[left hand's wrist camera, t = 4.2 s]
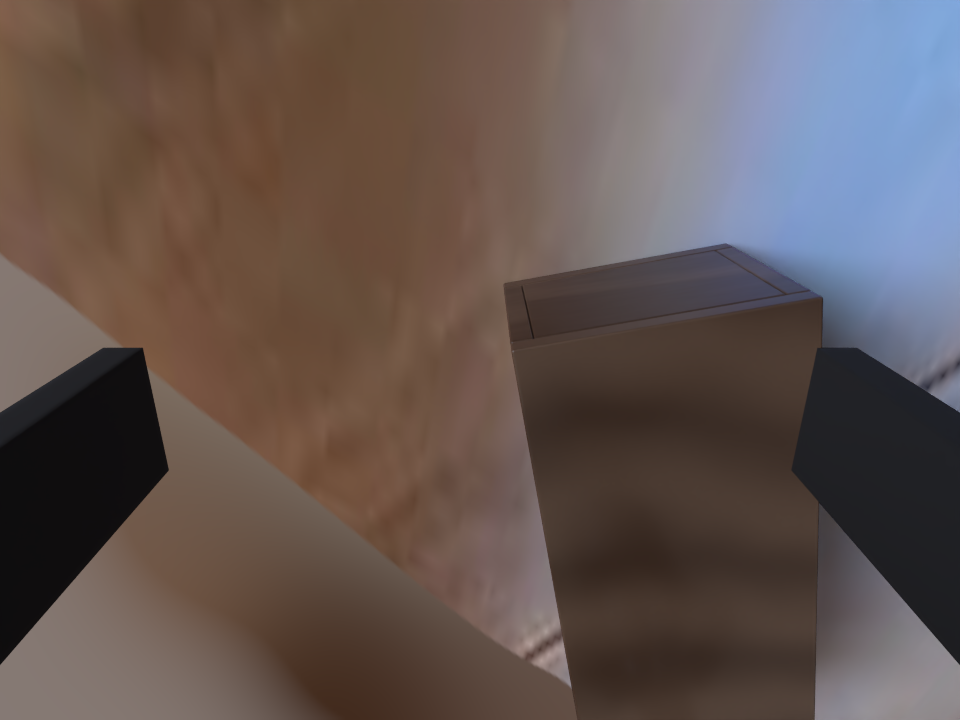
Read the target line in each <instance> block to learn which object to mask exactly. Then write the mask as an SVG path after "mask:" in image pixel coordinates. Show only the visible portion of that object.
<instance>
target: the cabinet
mask: <svg viewBox="0 0 960 720" xmlns="http://www.w3.org/2000/svg"><path fill="white" fill-rule="evenodd" d="M504 294H505V302H506V310H507V318H508V327H509V335H510V343H511V351H512V357H513V363H514V368H515V374H516V379H517V385H518V391H519V396H520V402H521V407H522V413H523V418H524V424H525V430H526V435H527V441H528V446H529V452H530V457H531V463H532V469H533V474H534V480H535V485H536V491H537V496H538V502H539V507H540V513H541V519H542V524H543V530H544V535H545V541H546V546H547V552H548V558H549V563H550V569H551V574H552V580H553V585H554V591H555V597H556V602H557V608H558V613H559V619H560V624H561V630H562V636H563V641H564V647H565V652H566V658H567V663H568V669H569V674H570V680H571V686H572V691H573V697H574V702H575V708H576V713H577V719H578V720H814V717H815V667H816V617H817V568H818V518H819V502H818V501H817V499H816V498H815V497H814V496H813V495H812V494H811V493H810V491H809V490H808V489H807V488H806V487H805V486H804V484H803V483H802V482H801V481H800V480H799V479H798V478H797V476H796V475H795V474H794V473H793V472H792V471H791V469H792V464H793V459H794V455H795V450H796V445H797V441H798V436H799V431H800V427H801V422H802V417H803V413H804V408H805V403H806V399H807V394H808V389H809V384H810V380H811V375H812V370H813V366H814V361H815V356H816V352H817V348H822V319H823V298H822V297H821V296H820V295H818V294H816V293H814V292H812V291H810V290H809V289H807V288H806V287H804V286H802V285H800V284H798V283H797V282H795V281H793V280H791V279H789V278H788V277H786V276H784V275H782V274H780V273H779V272H777V271H775V270H773V269H772V268H770V267H768V266H766V265H764V264H763V263H761V262H759V261H757V260H755V259H754V258H752V257H750V256H748V255H746V254H745V253H743V252H741V251H739V250H737V249H736V248H734V247H732V246H730V245H728V244H721V245H715V246H710V247H704V248H699V249H693V250H688V251H682V252H676V253H671V254H665V255H660V256H654V257H649V258H643V259H638V260H632V261H626V262H621V263H615V264H610V265H604V266H599V267H593V268H588V269H582V270H576V271H571V272H565V273H560V274H554V275H549V276H543V277H538V278H532V279H526V280H521V281H515V282H510V283H505V284H504Z"/></svg>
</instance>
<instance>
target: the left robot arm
mask: <svg viewBox="0 0 960 720" xmlns="http://www.w3.org/2000/svg"><path fill="white" fill-rule="evenodd" d="M168 470H169V469H168V464H167V459H166V455H165V450H164V445H163V441H162V436H161V431H160V427H159V422H158V418H157V413H156V408H155V403H154V399H153V394H152V389H151V384H150V380H149V375H148V370H147V366H146V361H145V356H144V352H143V348H102V349H101V350H99V351H98V352H96V353H94V354H93V355H91V356H90V357H88V358H86V359H85V360H83V361H82V362H80V363H79V364H77V365H75V366H74V367H72V368H70V369H69V370H67V371H66V372H64V373H63V374H61V375H59V376H58V377H56V378H55V379H53V380H51V381H50V382H48V383H47V384H45V385H43V386H42V387H40V388H39V389H37V390H35V391H34V392H32V393H31V394H29V395H28V396H26V397H24V398H23V399H21V400H20V401H18V402H16V403H15V404H13V405H12V406H10V407H8V408H7V409H5V410H4V411H2V412H0V664H1V663H2V662H3V661H4V660H5V659H6V658H7V656H8V655H9V654H10V653H11V652H12V651H13V649H14V648H15V647H16V646H17V645H18V644H19V643H20V641H21V640H22V639H23V638H24V637H25V636H26V634H27V633H28V632H29V631H30V630H31V629H32V628H33V626H34V625H35V624H36V623H37V622H38V621H39V619H40V618H41V617H42V616H43V615H44V614H45V612H46V611H47V610H48V609H49V608H50V607H51V606H52V604H53V603H54V602H55V601H56V600H57V599H58V597H59V596H60V595H61V594H62V593H63V592H64V591H65V589H66V588H67V587H68V586H69V585H70V584H71V582H72V581H73V580H74V579H75V578H76V577H77V576H78V574H79V573H80V572H81V571H82V570H83V569H84V567H85V566H86V565H87V564H88V563H89V562H90V561H91V559H92V558H93V557H94V556H95V555H96V554H97V553H98V551H99V550H100V549H101V548H102V547H103V546H104V544H105V543H106V542H107V541H108V540H109V539H110V538H111V536H112V535H113V534H114V533H115V532H116V531H117V529H118V528H119V527H120V526H121V525H122V524H123V522H124V521H125V520H126V519H127V518H128V517H129V516H130V514H131V513H132V512H133V511H134V510H135V509H136V508H137V506H138V505H139V504H140V503H141V502H142V501H143V499H144V498H145V497H146V496H147V495H148V494H149V493H150V491H151V490H152V489H153V488H154V487H155V486H156V484H157V483H158V482H159V481H160V480H161V479H162V477H163V476H164V475H165V474H166V473H167V472H168ZM791 471H792V472H793V473H794V474H795V475H796V476H797V478H798V479H799V480H800V481H801V482H802V483H803V484H804V486H805V487H806V488H807V489H808V490H809V491H810V493H811V494H812V495H813V496H814V497H815V498H816V499H817V501H818V502H819V503H820V504H821V505H822V506H823V508H824V509H825V510H826V511H827V512H828V513H829V514H830V516H831V517H832V518H833V519H834V520H835V521H836V523H837V524H838V525H839V526H840V527H841V528H842V529H843V531H844V532H845V533H846V534H847V535H848V536H849V538H850V539H851V540H852V541H853V542H854V543H855V544H856V546H857V547H858V548H859V549H860V550H861V551H862V553H863V554H864V555H865V556H866V557H867V558H868V559H869V561H870V562H871V563H872V564H873V565H874V566H875V568H876V569H877V570H878V571H879V572H880V573H881V574H882V576H883V577H884V578H885V579H886V580H887V581H888V583H889V584H890V585H891V586H892V587H893V588H894V589H895V591H896V592H897V593H898V594H899V595H900V596H901V598H902V599H903V600H904V601H905V602H906V603H907V604H908V606H909V607H910V608H911V609H912V610H913V611H914V613H915V614H916V615H917V616H918V617H919V618H920V619H921V621H922V622H923V623H924V624H925V625H926V626H927V628H928V629H929V630H930V631H931V632H932V633H933V634H934V636H935V637H936V638H937V639H938V640H939V641H940V643H941V644H942V645H943V646H944V647H945V648H946V649H947V651H948V652H949V653H950V654H951V655H952V656H953V658H954V659H955V660H956V661H957V662H958V663H959V664H960V412H958V411H956V410H955V409H953V408H952V407H950V406H948V405H947V404H945V403H944V402H942V401H940V400H939V399H937V398H936V397H934V396H933V395H931V394H929V393H928V392H926V391H925V390H923V389H921V388H920V387H918V386H917V385H915V384H913V383H912V382H910V381H909V380H907V379H905V378H904V377H902V376H901V375H899V374H897V373H896V372H894V371H893V370H891V369H890V368H888V367H886V366H885V365H883V364H882V363H880V362H878V361H877V360H875V359H874V358H872V357H870V356H869V355H867V354H866V353H864V352H862V351H861V350H859V349H858V348H817V352H816V356H815V361H814V366H813V370H812V375H811V380H810V384H809V389H808V394H807V399H806V403H805V408H804V413H803V417H802V422H801V427H800V431H799V436H798V441H797V445H796V450H795V455H794V459H793V464H792V469H791Z"/></svg>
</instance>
